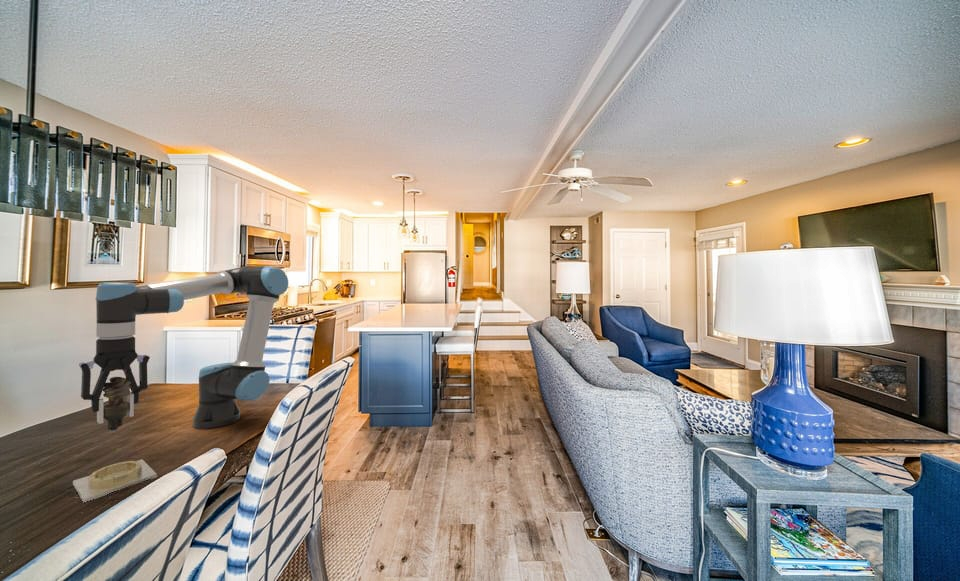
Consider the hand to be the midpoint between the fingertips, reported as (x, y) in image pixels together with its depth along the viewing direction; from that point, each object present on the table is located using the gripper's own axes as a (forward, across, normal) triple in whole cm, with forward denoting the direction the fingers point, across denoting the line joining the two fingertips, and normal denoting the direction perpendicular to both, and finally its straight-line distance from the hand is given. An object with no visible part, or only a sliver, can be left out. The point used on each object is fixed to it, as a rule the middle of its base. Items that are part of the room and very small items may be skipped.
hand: (115, 418), depth 96 cm
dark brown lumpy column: (+3, 0, 0) cm, 3 cm away
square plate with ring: (+18, 0, 0) cm, 18 cm away
